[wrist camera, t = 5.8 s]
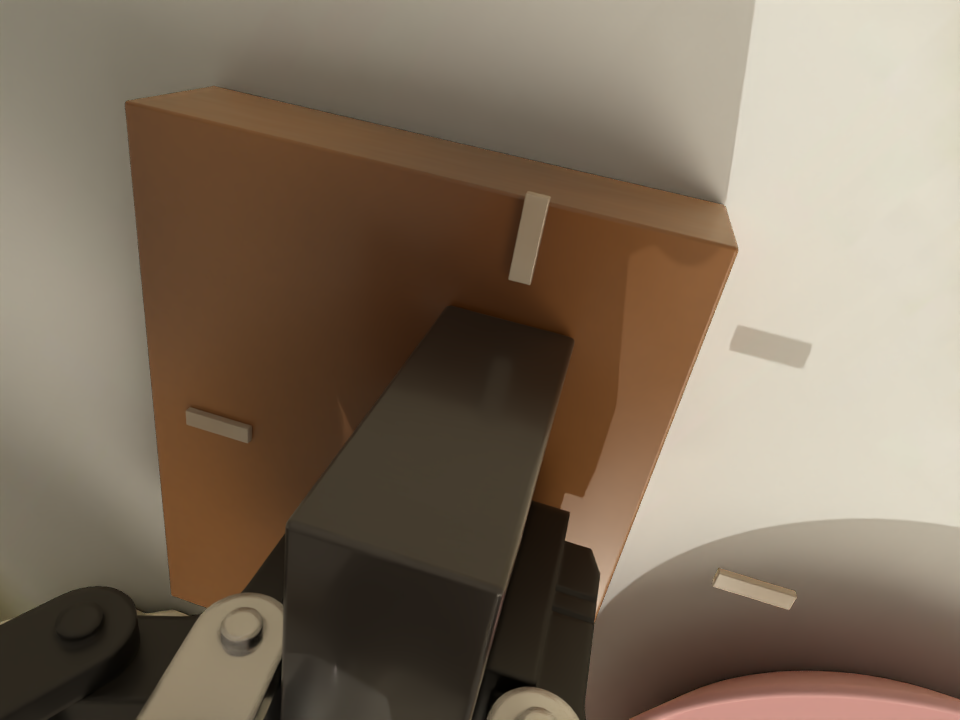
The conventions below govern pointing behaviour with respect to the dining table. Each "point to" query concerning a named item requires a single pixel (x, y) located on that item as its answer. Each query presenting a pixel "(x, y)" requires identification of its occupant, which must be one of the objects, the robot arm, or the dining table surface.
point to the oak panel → (393, 311)
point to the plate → (807, 699)
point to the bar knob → (419, 528)
